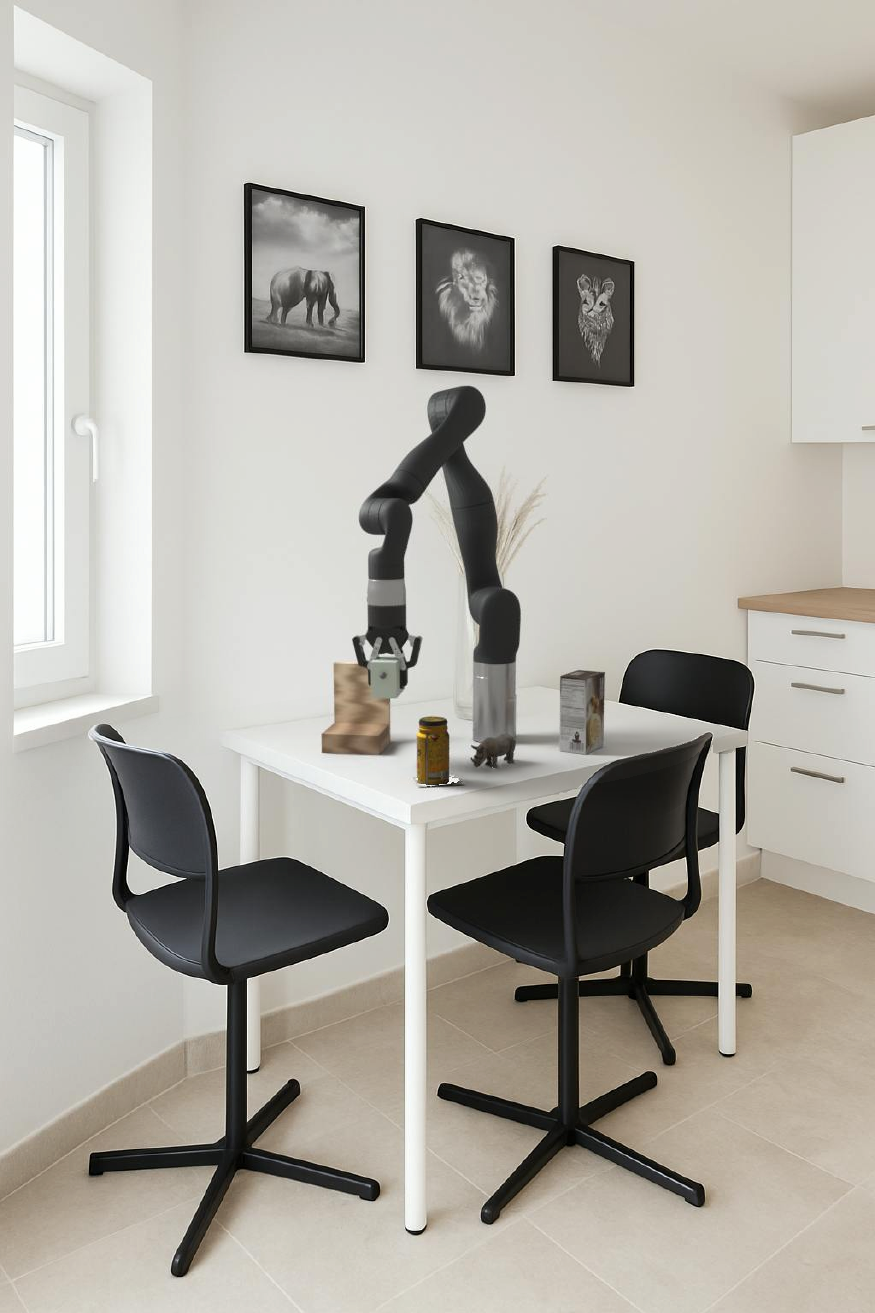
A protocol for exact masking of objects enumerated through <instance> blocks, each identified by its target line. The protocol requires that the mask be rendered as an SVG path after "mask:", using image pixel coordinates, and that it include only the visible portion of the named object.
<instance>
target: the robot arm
mask: <svg viewBox="0 0 875 1313" xmlns="http://www.w3.org/2000/svg"><path fill="white" fill-rule="evenodd" d="M486 410H487V408H486V401H485V397H484V395H483V394H482V392H481V391H480V390H479V389H478V388H476V387H475V386H471V385H461V386H456V387H452V388H447V389H444V390H439V391H436V392H434V393H433V394H432V395H430V397H429V399H428V402H427V410H426V411H427V419H428V423H429V427H430V431H431V434H429V435H428V436H427V437H426V438H425V439H423V440H422V441H421V442H420V443H418V444H417V445H416V446H415V447H413V448H412V449H411V450H410V451H409V452H408V453H407V455H405V457H404V458H402V460H401V462H400V463H399V465H398V466H397V468H396V469H395V470H394V472H392V474H391V476H390V478H389V479H388V480H386V481H385V482H383V483H382V484H381V485H380V486H378V487H377V488H376V489H375V490H374V491H373V492H371V494H369V495H368V496H367V497H366V499H365V500H364V501H363V503H362V505H361V506H360V509H359V513H358V522H359V525H360V528H361V530H362V531H364V532H365V533H366V534H369V535H374V536H384V539H383V542H382V545H381V546H380V547H375V548H373V549H371V550H370V551H369V552H368V556H367V576H368V580H367V581H368V582H367V589H366V595H367V596H366V603H367V631H366V632H365V634H362V635H355V636H353V637H352V640H351V641H352V646H353V649H354V653H355V657H356V660H357V663H358V665H359V666H361V667H365V668H367V670H368V684H369V686H371V671H370V662H371V661H372V660H374V659H377V658H378V657H379V655H380V654H394V655H395V657H396V660H398V659H399V666H400V669H401V670H400V689H404V688H405V689H406V686H407V685H408V683H409V677H408V676H409V674H408V672H409V669H410V668H414V667H415V666H416V665H417V663H418V659H419V656H420V652H421V647H422V643H423V637H422V636H420V635H417V636H416V635H412V634H410V633H409V632H408V630H407V588H406V583H405V582H406V581H405V556H406V552H407V549H408V545H409V544H408V543H409V541H410V540H409V539H410V538H411V537H410V536H411V533H412V527H413V522H414V518H413V512H412V508H411V507H410V506H411V505H414V504H416V503H417V502H418V501H419V500H420V499H421V497H423V494H424V493H425V492H426V491H427V488H428V487H429V486H430V484H431V482H432V481H433V479H434V478H435V476H436V475H437V473H438V472H439V470H441V468H442V471H443V477H444V481H445V485H446V488H447V494H448V499H449V506H450V511H451V515H452V521H453V524H454V525H453V526H454V529H455V533H456V538H457V543H458V547H459V552H460V556H461V559H462V563H463V568H464V575H465V580H466V583H465V584H466V594H467V603H468V610H469V614H470V616H471V618H472V620H473V621H474V622H475V623H476V624H477V625H478V627H479V634H478V642H477V645H476V646H475V647H474V648H473V650H472V651H473V654H472V655H473V656H472V659H473V660H472V664H473V666H472V667H473V668H472V670H473V671H472V674H473V675H472V739H473V741H476V742H479V743H482V742H483V741H484V740H485V739H486V738H488V737H492V738H496V737H498V736H499V735H501V734H505V733H509V734H510V735H511V736H513V737H514V738H515V739H516V737H517V694H516V692H517V689H516V686H517V683H516V682H517V677H516V675H517V653H518V651H519V648H520V640H521V638H520V637H521V622H522V616H521V615H522V613H521V612H522V610H521V604H520V603H521V602H520V601H519V598H518V597H517V595H516V594H515V593H514V592H513V591H512V590H510V589H507V588H505V587H503V585H502V581H501V579H500V578H501V577H500V573H499V570H498V566H497V543H498V533H499V531H498V530H499V529H498V528H499V524H498V523H499V522H498V516H497V514H498V513H497V509H496V504H495V500H494V496H493V493H492V489H491V488H490V486H489V485H488V483H487V481H486V480H485V479H484V477H483V476H482V475H481V474H480V472H479V471H478V469H477V468H476V467H475V466H474V465H473V463H472V462H471V460H470V458H469V456H468V454H467V452H466V448H465V445H464V442H465V441H466V440H467V439H468V438H469V437H471V435H473V433H474V432H475V431H476V430H477V429H478V428H479V427H480V426H481V425H482V423H483V421H484V419H485V416H486ZM366 641H367V642H368V644H369V645H370V647H371V648H372V650H371V653H370V657H369V660H367V657H366V654H365V653H366V652H365V650H364V646H365V645H366ZM407 641H409V646H410V647H411V648H412V650H411V654H410V659H409V660H408V661H407V659H406V655H405V651H404V649H403V647H404V645H405V644H406V642H407ZM405 689H404V690H405Z"/></svg>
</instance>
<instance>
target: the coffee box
mask: <svg viewBox="0 0 875 1313" xmlns="http://www.w3.org/2000/svg"><path fill="white" fill-rule="evenodd" d="M605 679H606V672H605V671H593V670H582V669H579V670H578V669H577V670H575V671H572V672H569V673H565V674H562V675H560V678H559V735H558V736H559V738H558V739H559V744H558V745H559V746H558V747H559V750H558V751H560V752H564V753H571V754H577V755H585V756H586V755H588V754H591V753H592V752H594V751H596V750H598V749H600V748H602V747H604V740H605V738H604V737H605V736H604V735H605V734H604V733H605V730H604V729H605V691H606V690H605V688H606V687H605V684H606V680H605Z"/></svg>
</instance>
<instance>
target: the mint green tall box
mask: <svg viewBox="0 0 875 1313" xmlns="http://www.w3.org/2000/svg"><path fill="white" fill-rule="evenodd" d="M400 670H401V669H400V666H399V659H398V660H396V657H395V655H394V654H388V653H385V654H380V655H379V657H378V658H377V659H374V660H372V661H371V662H370V671H371V698H390V699H398V697H400V695H401V694H402V693H403V692H404V691H405V689H406V687H405V688H404V689H400Z"/></svg>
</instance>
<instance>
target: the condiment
mask: <svg viewBox="0 0 875 1313" xmlns="http://www.w3.org/2000/svg"><path fill="white" fill-rule="evenodd" d="M449 775H450V733H449V732H448V720H447V718H445V717H441V716H433V715H432V716H424V717H421V718H419V720H418V732H417V735H416V776H412V779H413V781H414V783H415V784H416V785H417V784H426V785H439V784H447V783H448V782H449V777H451V776H449ZM454 775H455V776H454V777H452V778H459V777H458V775H457V774H454ZM456 775H457V776H456ZM415 778H418V780H416V779H415ZM451 784H452V785H451V786H456V785H457V786H458V785H465V783H464V782H463V781H462V780H461V781H458V782H457V783H454V782H452V783H451ZM417 786H418V787H419V788H428V787H427V786H421V785H417ZM430 787H432V786H430ZM430 787H429V788H430Z"/></svg>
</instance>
